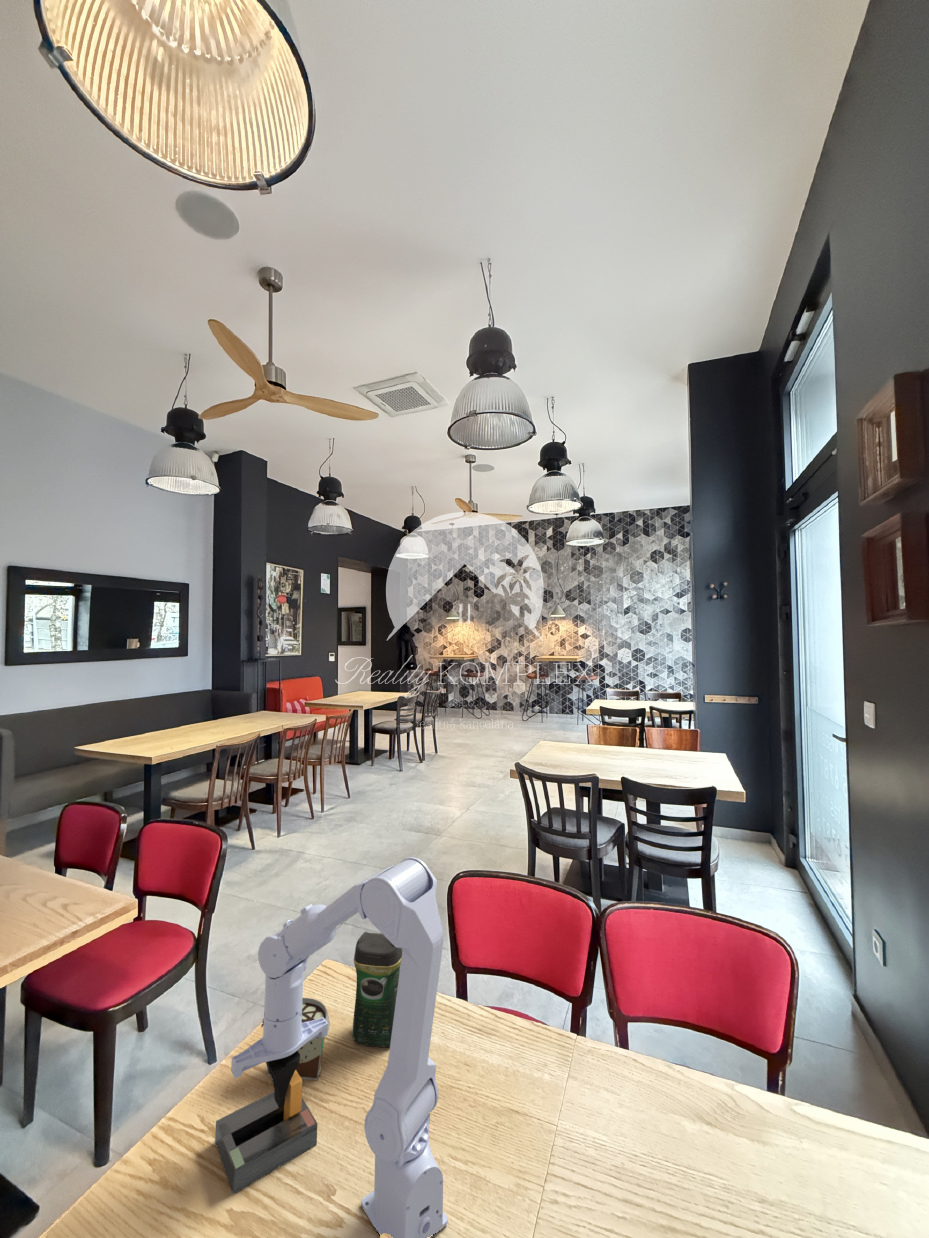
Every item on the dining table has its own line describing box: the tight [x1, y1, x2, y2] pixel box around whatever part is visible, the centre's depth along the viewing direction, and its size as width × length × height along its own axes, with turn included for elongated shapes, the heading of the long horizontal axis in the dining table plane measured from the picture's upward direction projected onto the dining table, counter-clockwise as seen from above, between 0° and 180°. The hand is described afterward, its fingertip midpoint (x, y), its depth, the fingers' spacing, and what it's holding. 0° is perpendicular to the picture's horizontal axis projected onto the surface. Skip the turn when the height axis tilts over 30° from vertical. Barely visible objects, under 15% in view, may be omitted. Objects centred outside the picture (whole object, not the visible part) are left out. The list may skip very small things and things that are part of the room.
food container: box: [261, 997, 330, 1081], centre depth 95 cm, size 12×6×10 cm, turn 84°
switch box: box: [214, 1091, 318, 1195], centre depth 79 cm, size 10×12×3 cm
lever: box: [283, 1070, 303, 1121], centre depth 81 cm, size 4×2×7 cm, turn 39°
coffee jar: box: [351, 931, 402, 1048], centre depth 103 cm, size 10×8×19 cm
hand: (279, 1102), depth 80 cm, fingers closed
